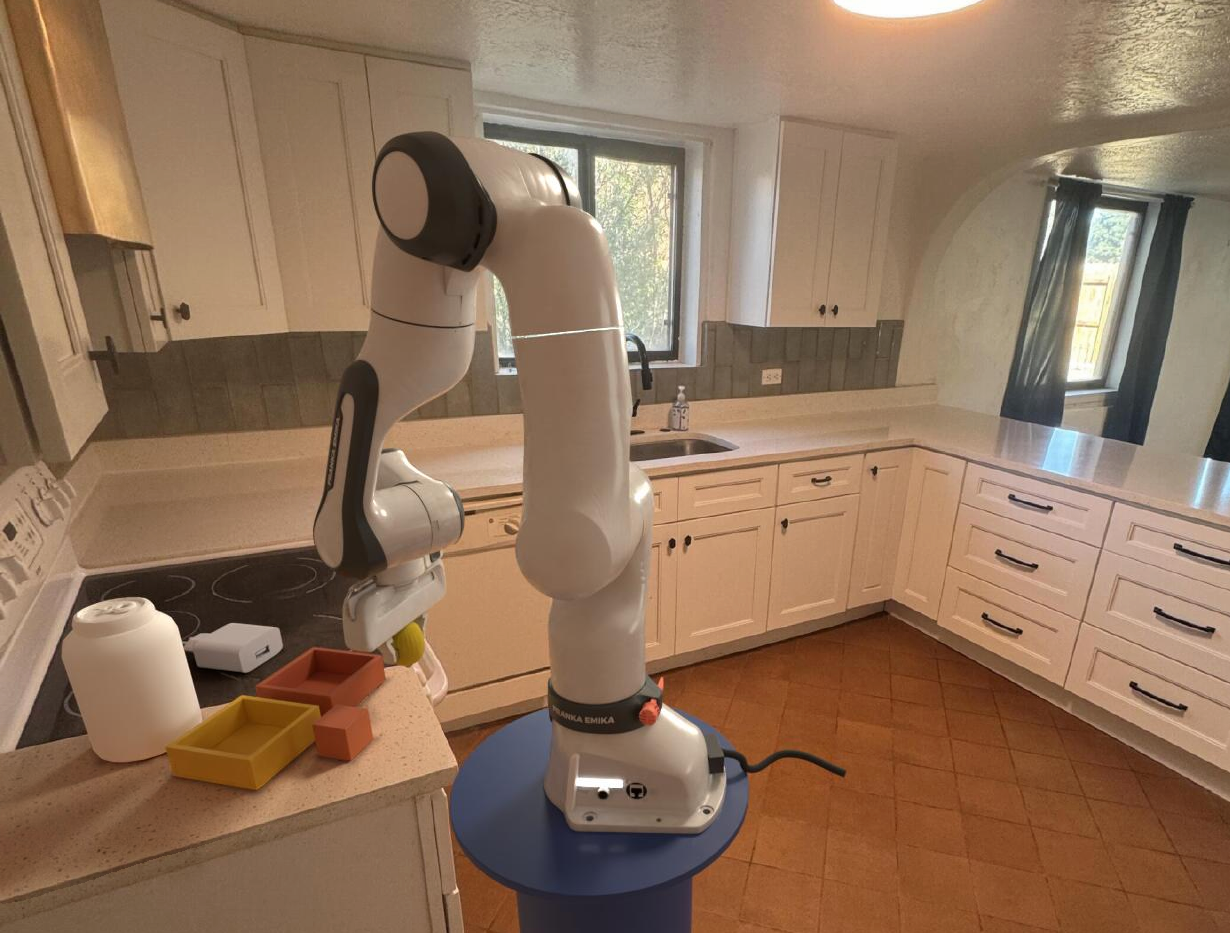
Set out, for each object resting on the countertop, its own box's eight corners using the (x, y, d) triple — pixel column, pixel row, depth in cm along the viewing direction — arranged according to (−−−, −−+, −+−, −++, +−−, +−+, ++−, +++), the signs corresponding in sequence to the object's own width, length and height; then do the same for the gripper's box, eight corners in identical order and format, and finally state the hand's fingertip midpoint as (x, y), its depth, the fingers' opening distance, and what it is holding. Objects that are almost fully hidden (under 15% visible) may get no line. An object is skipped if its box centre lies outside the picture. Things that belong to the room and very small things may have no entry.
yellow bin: (324, 732, 98) (318, 705, 97) (257, 790, 87) (249, 760, 85) (248, 721, 101) (241, 694, 99) (173, 776, 89) (164, 746, 88)
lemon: (409, 655, 107) (401, 608, 104) (436, 662, 105) (428, 614, 102) (381, 671, 102) (371, 622, 100) (408, 679, 100) (399, 630, 97)
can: (208, 704, 105) (175, 582, 98) (199, 749, 94) (162, 616, 87) (106, 725, 100) (63, 598, 92) (85, 776, 89) (35, 636, 82)
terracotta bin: (386, 679, 112) (382, 655, 110) (335, 723, 100) (330, 696, 99) (317, 671, 114) (313, 646, 113) (260, 712, 103) (254, 686, 101)
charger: (210, 641, 124) (284, 649, 121) (166, 666, 116) (244, 675, 113) (204, 617, 122) (278, 624, 120) (159, 640, 114) (237, 649, 111)
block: (373, 739, 97) (368, 708, 95) (351, 761, 92) (345, 729, 90) (342, 734, 98) (336, 704, 96) (318, 756, 93) (311, 724, 91)
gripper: (364, 593, 88) (382, 688, 92) (448, 541, 106) (459, 623, 111) (321, 589, 89) (341, 684, 94) (411, 539, 108) (424, 620, 112)
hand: (406, 650), depth 103 cm, fingers closed on lemon, 5 cm apart
